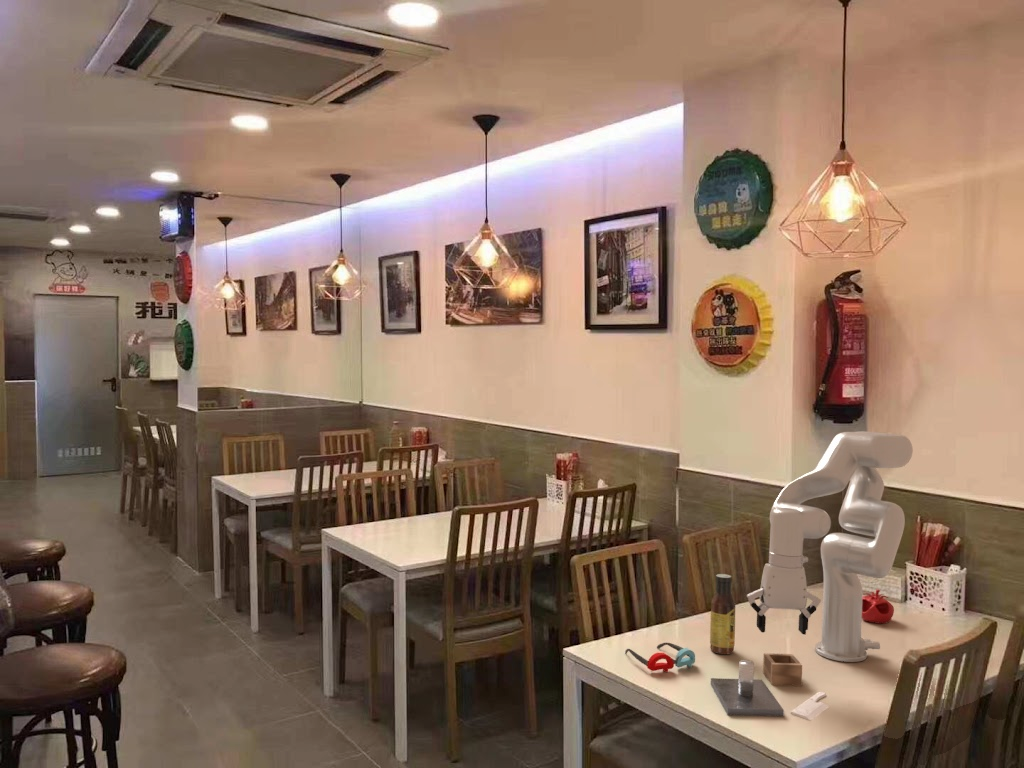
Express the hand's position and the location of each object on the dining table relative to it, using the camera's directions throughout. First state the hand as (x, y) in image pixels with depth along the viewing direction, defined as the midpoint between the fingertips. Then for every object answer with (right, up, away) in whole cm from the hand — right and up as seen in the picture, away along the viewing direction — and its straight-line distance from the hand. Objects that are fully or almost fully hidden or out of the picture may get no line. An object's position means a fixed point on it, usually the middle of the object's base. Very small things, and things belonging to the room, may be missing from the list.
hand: (781, 631), depth 193 cm
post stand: (-12, -12, -11) cm, 20 cm away
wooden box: (0, -12, +1) cm, 12 cm away
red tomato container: (+43, -11, +46) cm, 64 cm away
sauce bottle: (-9, -11, +19) cm, 24 cm away
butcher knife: (+3, -13, -14) cm, 19 cm away
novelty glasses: (-28, -12, +11) cm, 32 cm away
